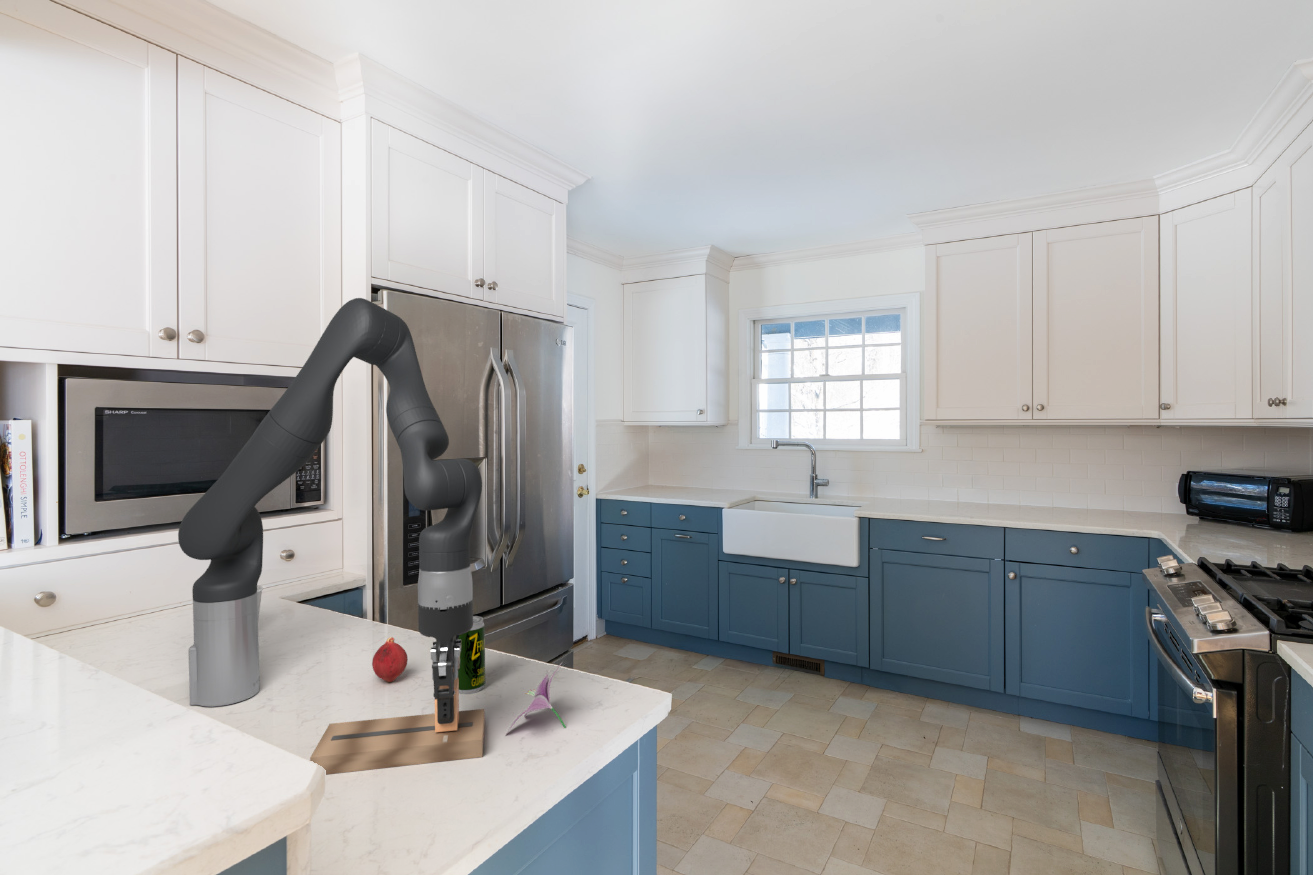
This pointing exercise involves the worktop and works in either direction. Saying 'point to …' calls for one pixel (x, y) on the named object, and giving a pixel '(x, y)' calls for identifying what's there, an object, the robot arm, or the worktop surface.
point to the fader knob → (454, 724)
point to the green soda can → (472, 658)
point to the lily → (541, 698)
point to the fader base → (398, 742)
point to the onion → (389, 660)
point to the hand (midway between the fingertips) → (447, 714)
